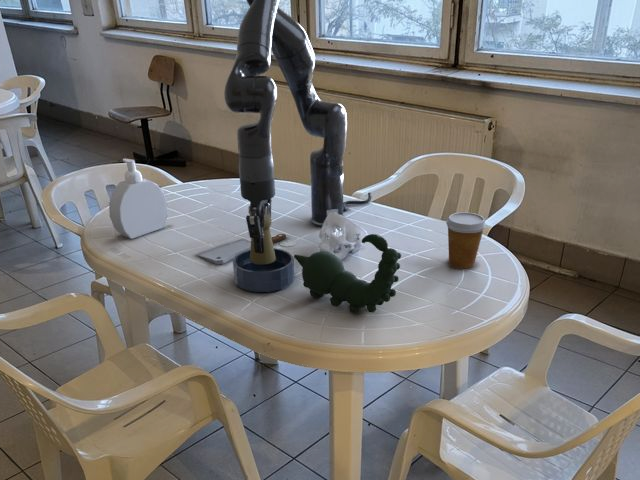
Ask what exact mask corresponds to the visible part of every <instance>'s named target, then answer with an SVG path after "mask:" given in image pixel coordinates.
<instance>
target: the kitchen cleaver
mask: <svg viewBox="0 0 640 480" xmlns="http://www.w3.org/2000/svg"><path fill="white" fill-rule="evenodd" d="M271 237H272V242H273V244H274V243H278V242H280V241H283V240H286V239H287V234H285V233H277V234H276V235H275V236H271ZM247 250H251V240H250V241H249V240H245V239H240V240H236V241H233V242H230V243H226V244H223V245H219V246H218V247H214V248H212V249H209V250H207V251H203V252H200V253H198V254H196V256H197V257H200V258H202V259H204V260H206V261H209V262H211V263H213V264H215V265H224V264H225V263H227V262H229V261H230V260H233V259H234V257H235V256H236V255H238V254H239V253H241V252H244V251H247Z"/></svg>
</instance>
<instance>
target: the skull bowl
mask: <svg viewBox="0 0 640 480" xmlns="http://www.w3.org/2000/svg"><path fill="white" fill-rule="evenodd" d="M367 235H369V233H368V232H367V231H366V230H365V229H364V228H363V227H361V226H360V225H358V224H357V223H355V222H354V221H353V220H351V219H350V218H348V217H346V216H344V215H343V216H342V215H339V214H336V213H333V212H330V213H329V214H328V216H327V217H326V219H325V221H324V223H323V226H322V227H321V229H320V231H319V234H318V237H319V238H320V239H321V242H320V243H319V244H318V245H317V248H318V252H320V251H327V252H330V253H333V254H334V255H336V256H337V257H338V258H339V259H340V260H341V261H342V260H344V259H345V258H346V257H347V256H348V254H349V252H352V254H355V253H357V252H358V251H360V250H361V249H362V247H363V246H364V245H365V244H366V242H365V243H362V239H363V238H364V237H365V236H367ZM338 249H339V251H338ZM334 251H338V252H334Z"/></svg>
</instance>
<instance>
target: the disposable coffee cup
mask: <svg viewBox="0 0 640 480" xmlns="http://www.w3.org/2000/svg"><path fill="white" fill-rule="evenodd" d="M445 223H446V226H447V235H448V236H447V241H448V264H449V265H450V266H451V267H453V268H456V269H462V270H467V269H471V268H473V267H474V266H475V263H476V259H477V256H478V251H479V247H480V244H481V240H482V236H483V232H484V230H485V228H486V226H487V223H486V218H485V217H484V216H483V215H481V214H478V213H475V212H468V211H467V212H466V211H460V212H454V213H452V214H450V215H449V216H448V219H447V220H446V222H445Z"/></svg>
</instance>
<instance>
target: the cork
mask: <svg viewBox="0 0 640 480" xmlns="http://www.w3.org/2000/svg"><path fill="white" fill-rule="evenodd" d="M272 221H273V220H272V216H271V217H270V215H269V214H266V226H265V227H264V228H263V229H264V253H255V250H254V238H250V242H251V250H250V261H251V262H252V263H254V264H261V265H263V264H269V263H272V262H274V261H275V260H276V257H275V252H274V248H275V247H274V243H273V242H272V237H273V236H272V233H271V226H272V223H273V222H272ZM259 223H260V224H262V221H259ZM255 232H257V231H255Z"/></svg>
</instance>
